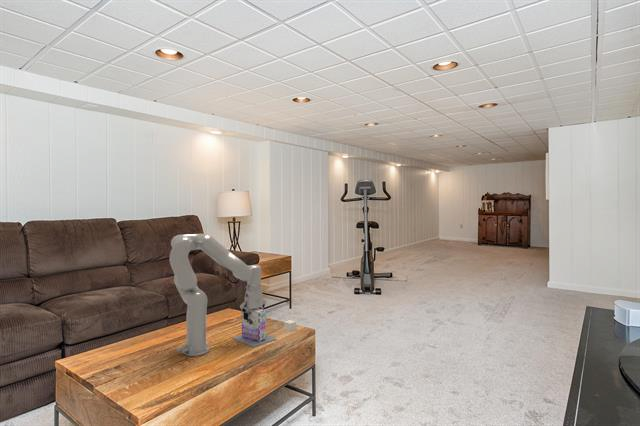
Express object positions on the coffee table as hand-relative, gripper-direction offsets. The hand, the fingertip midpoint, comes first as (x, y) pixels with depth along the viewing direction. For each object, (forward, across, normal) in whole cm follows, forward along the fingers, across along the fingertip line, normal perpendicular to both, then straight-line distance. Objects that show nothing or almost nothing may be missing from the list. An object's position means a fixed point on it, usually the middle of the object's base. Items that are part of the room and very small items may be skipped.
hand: (252, 317), depth 200 cm
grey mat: (+12, +1, 0) cm, 12 cm away
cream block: (+11, +25, -4) cm, 28 cm away
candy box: (+12, +1, 0) cm, 12 cm away
